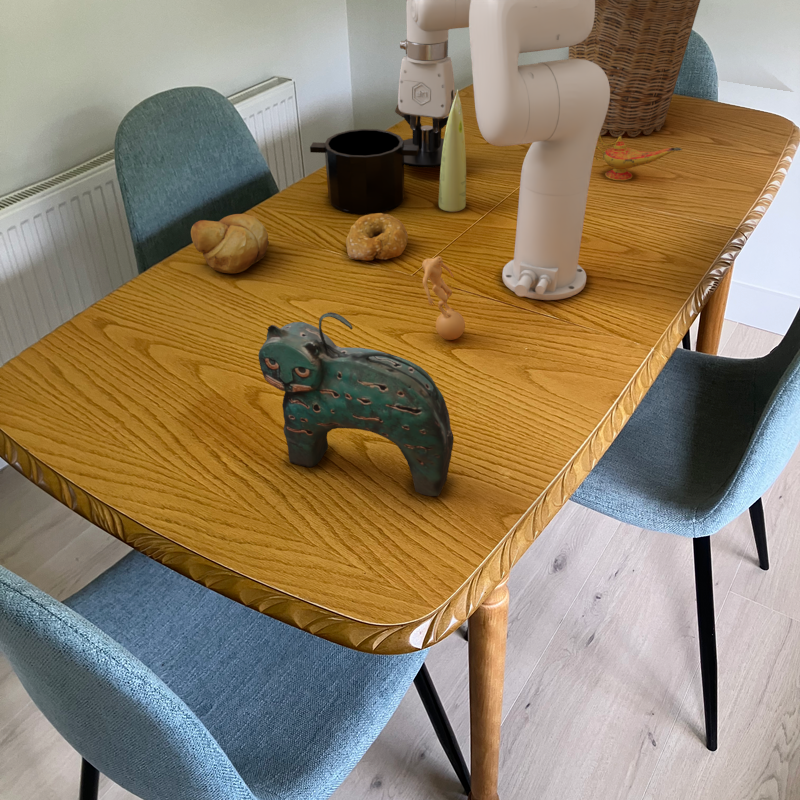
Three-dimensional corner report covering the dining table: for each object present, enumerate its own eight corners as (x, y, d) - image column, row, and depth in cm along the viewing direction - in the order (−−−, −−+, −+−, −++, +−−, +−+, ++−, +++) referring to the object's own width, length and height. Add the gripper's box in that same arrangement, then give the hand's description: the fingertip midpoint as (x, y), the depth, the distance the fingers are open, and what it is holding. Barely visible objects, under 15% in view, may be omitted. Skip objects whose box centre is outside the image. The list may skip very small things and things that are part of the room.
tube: (473, 209, 138) (478, 97, 126) (450, 216, 136) (453, 103, 124) (454, 198, 142) (457, 88, 129) (432, 205, 139) (433, 94, 127)
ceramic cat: (271, 465, 86) (246, 312, 73) (297, 430, 90) (278, 280, 78) (440, 510, 80) (443, 352, 68) (458, 469, 85) (465, 315, 72)
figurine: (453, 356, 102) (456, 276, 94) (411, 347, 104) (410, 268, 96) (473, 324, 108) (476, 247, 100) (433, 316, 110) (433, 239, 102)
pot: (413, 216, 136) (413, 158, 129) (307, 212, 138) (302, 154, 131) (422, 185, 146) (422, 130, 140) (323, 182, 149) (319, 127, 142)
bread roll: (244, 237, 130) (237, 192, 125) (289, 250, 126) (284, 204, 121) (191, 269, 122) (181, 222, 117) (238, 284, 118) (230, 236, 113)
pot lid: (461, 172, 146) (462, 142, 142) (384, 169, 147) (383, 139, 144) (466, 144, 157) (467, 115, 154) (394, 141, 159) (394, 113, 155)
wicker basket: (717, 148, 159) (761, -34, 138) (547, 150, 160) (566, -31, 139) (672, 96, 186) (703, -62, 166) (527, 98, 187) (541, -59, 167)
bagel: (331, 252, 126) (329, 225, 123) (377, 229, 132) (377, 203, 129) (374, 271, 120) (373, 244, 117) (421, 247, 127) (421, 220, 124)
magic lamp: (671, 191, 143) (684, 131, 136) (576, 175, 149) (584, 118, 142) (678, 177, 147) (691, 119, 141) (586, 163, 154) (594, 107, 147)
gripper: (378, 51, 140) (381, 150, 151) (462, 59, 135) (459, 161, 146) (394, 41, 145) (396, 138, 157) (476, 48, 140) (471, 148, 152)
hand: (426, 148), depth 151 cm, fingers closed on pot lid, 2 cm apart
